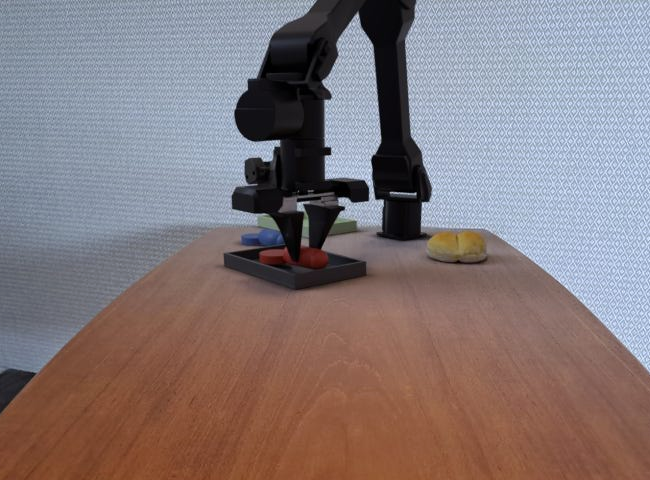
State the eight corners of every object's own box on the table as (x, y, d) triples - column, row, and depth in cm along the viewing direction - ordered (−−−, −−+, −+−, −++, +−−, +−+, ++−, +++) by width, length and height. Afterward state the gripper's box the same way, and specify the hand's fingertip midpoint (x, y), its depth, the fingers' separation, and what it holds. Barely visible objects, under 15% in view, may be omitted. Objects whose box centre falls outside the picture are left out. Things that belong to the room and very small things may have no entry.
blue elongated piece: (301, 250, 107) (300, 232, 106) (277, 253, 104) (276, 235, 103) (259, 239, 116) (258, 222, 115) (236, 242, 113) (235, 225, 112)
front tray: (366, 275, 91) (366, 261, 91) (294, 289, 84) (294, 274, 83) (292, 254, 104) (291, 242, 103) (224, 266, 96) (223, 252, 96)
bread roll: (428, 251, 106) (429, 225, 105) (486, 253, 104) (488, 227, 103) (423, 262, 99) (424, 234, 97) (485, 265, 97) (487, 237, 95)
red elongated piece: (337, 268, 91) (337, 248, 90) (313, 274, 88) (313, 253, 87) (277, 256, 98) (276, 236, 97) (253, 261, 95) (252, 241, 94)
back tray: (356, 230, 123) (356, 220, 123) (308, 238, 117) (308, 226, 116) (303, 220, 135) (303, 210, 134) (257, 225, 128) (257, 215, 128)
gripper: (320, 134, 97) (321, 242, 103) (205, 138, 86) (213, 259, 92) (373, 137, 89) (370, 254, 95) (253, 142, 78) (259, 274, 84)
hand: (304, 259), depth 91 cm, fingers closed on red elongated piece, 3 cm apart
